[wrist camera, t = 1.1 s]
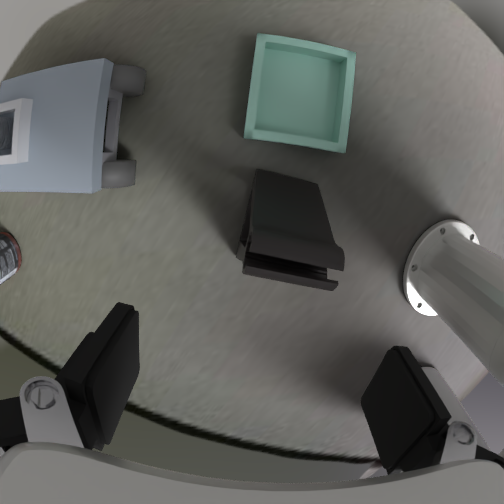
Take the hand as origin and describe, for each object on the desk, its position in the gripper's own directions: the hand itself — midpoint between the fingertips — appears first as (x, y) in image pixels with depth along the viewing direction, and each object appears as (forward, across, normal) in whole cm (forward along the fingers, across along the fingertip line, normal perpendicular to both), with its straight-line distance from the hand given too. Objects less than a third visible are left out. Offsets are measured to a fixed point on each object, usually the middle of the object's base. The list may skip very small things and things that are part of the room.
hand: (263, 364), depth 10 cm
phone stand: (+20, -2, -1) cm, 21 cm away
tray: (+20, -1, -13) cm, 24 cm away
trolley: (+20, +20, -7) cm, 29 cm away
